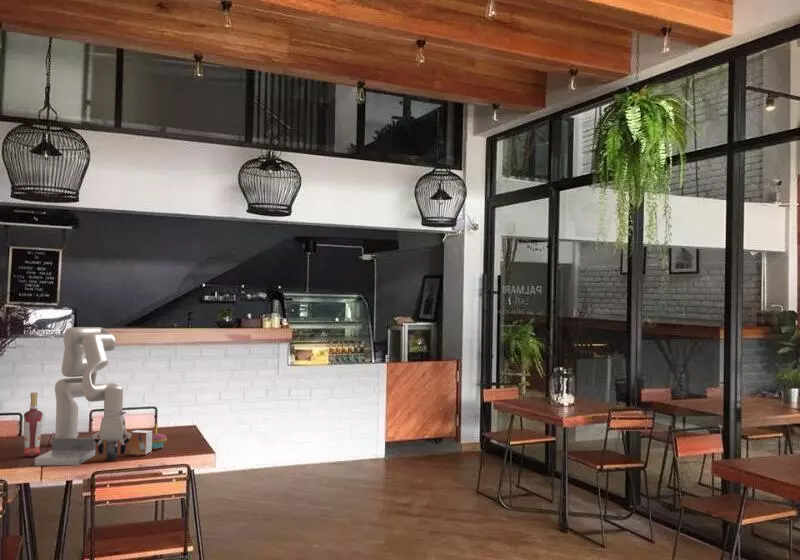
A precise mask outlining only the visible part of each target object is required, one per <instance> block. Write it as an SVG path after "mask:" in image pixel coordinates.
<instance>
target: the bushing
mask: <svg viewBox="0 0 800 560" xmlns="http://www.w3.org/2000/svg"><path fill="white" fill-rule="evenodd" d="M118 441H119V440H106V448H105V449H106V450H105V451H106V452H105V453H106V454H105V461H106V460H115V459H117V460H118V443H119V442H118ZM115 461H116V460H115Z"/></svg>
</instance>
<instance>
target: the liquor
mask: <svg viewBox="0 0 800 560" xmlns="http://www.w3.org/2000/svg"><path fill="white" fill-rule="evenodd" d="M37 400H38V392H30V405H29V410H28V411H26V412H24V414H23V433H24V435H23V437H24V440H23V441H24V445H23V450H24V451H23V453H22V455H23V456H25V458H36V457H38V456H40V455H41V451H40V448H41V436H42V435H41V434H42V425H43V416H44V415H43V412H42V411H41V410H38V401H37Z"/></svg>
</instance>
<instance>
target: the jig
mask: <svg viewBox="0 0 800 560" xmlns="http://www.w3.org/2000/svg"><path fill="white" fill-rule="evenodd" d="M51 439H52V440H51V443H52V445H51V450H49V451H47V452H45V453H43V454H39V455H38V456H36V457H34V466H81V465H82V464H83V462H84V461H85V462H87V461H88V460H87V459H89V458H90V459H92V458H94V457H95V456H96V444H97V443H96V442H95V441H94V439H93V437H77V438H55V437H53V438H51ZM93 456H94V457H93ZM91 457H92V458H91ZM90 459H89V460H90ZM86 460H87V461H86ZM85 462H84V463H85ZM81 463H82V464H81Z"/></svg>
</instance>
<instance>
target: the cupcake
mask: <svg viewBox="0 0 800 560" xmlns="http://www.w3.org/2000/svg"><path fill="white" fill-rule="evenodd" d="M167 440H168V438H167V435H165V434H163V433H158V423H155V433H152V448H160V447H162V448H163V447H164V445H165V442H167Z"/></svg>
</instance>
